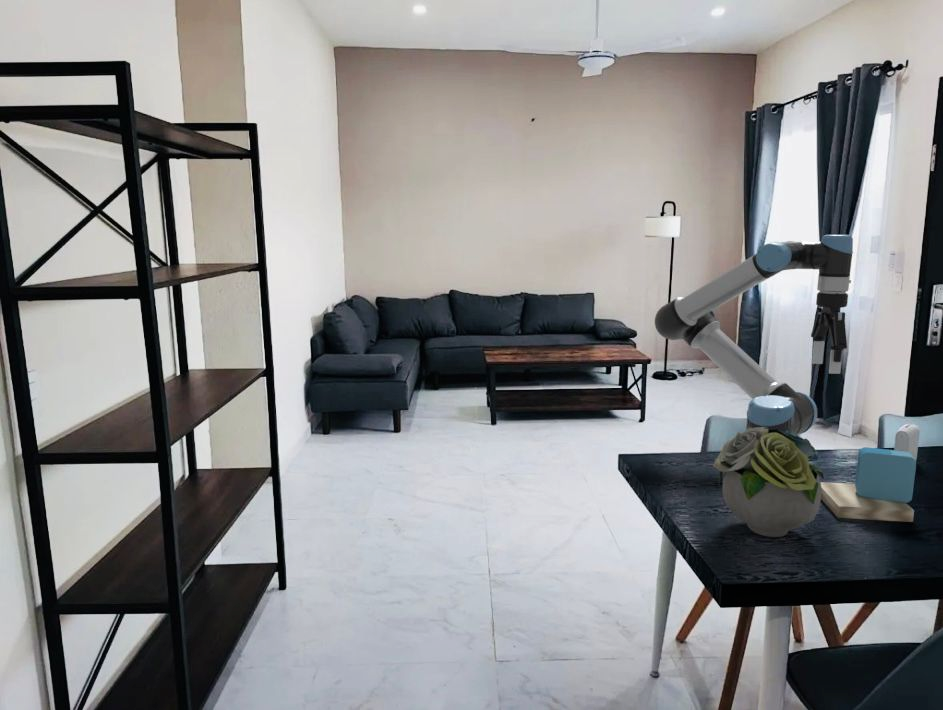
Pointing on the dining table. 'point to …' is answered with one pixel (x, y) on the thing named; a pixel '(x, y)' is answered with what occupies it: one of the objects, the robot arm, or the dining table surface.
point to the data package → (885, 474)
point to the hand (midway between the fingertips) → (825, 368)
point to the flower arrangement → (770, 480)
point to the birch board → (862, 504)
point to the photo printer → (907, 439)
